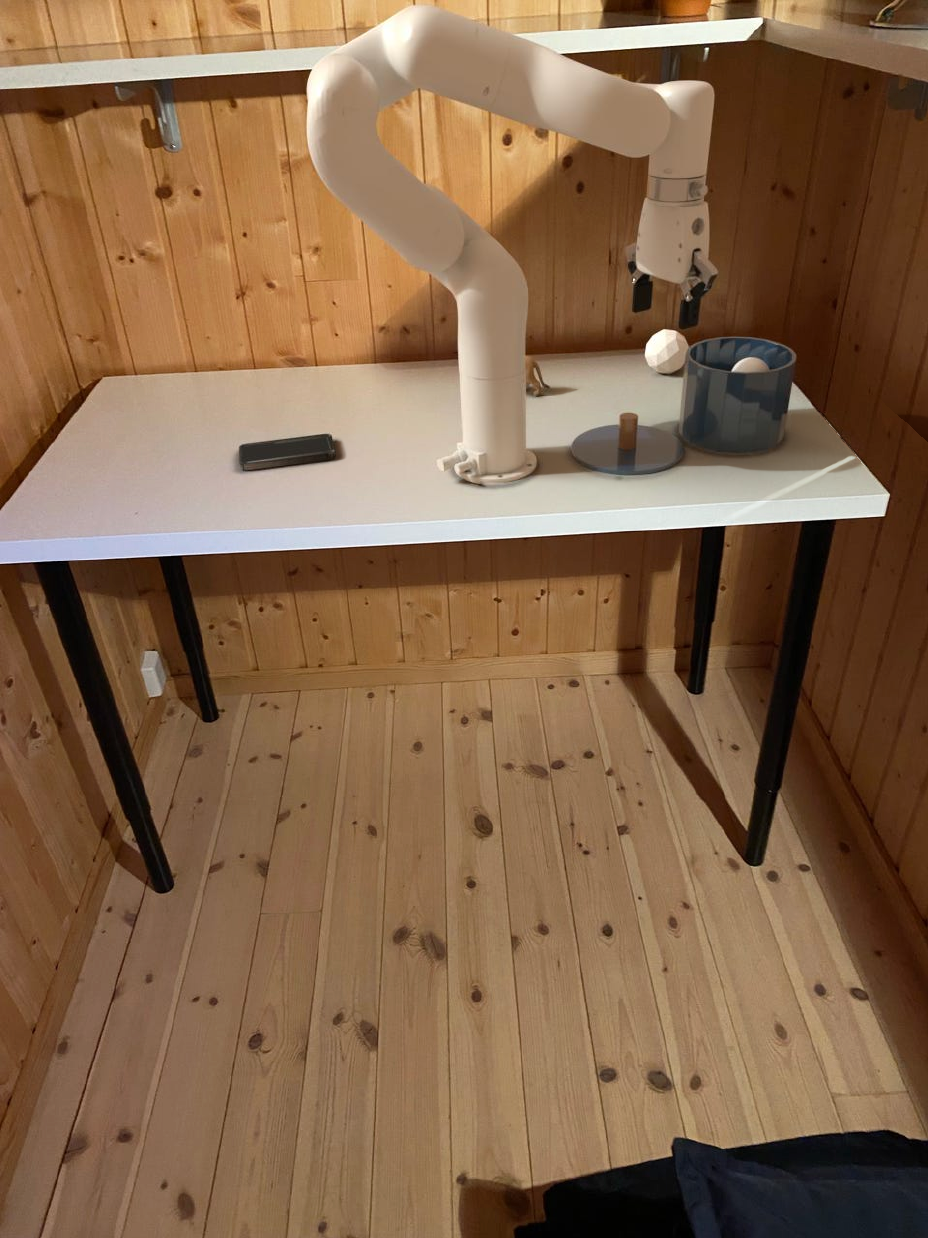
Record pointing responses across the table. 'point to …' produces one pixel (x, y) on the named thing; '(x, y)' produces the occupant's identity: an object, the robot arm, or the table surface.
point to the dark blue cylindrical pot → (735, 395)
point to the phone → (286, 451)
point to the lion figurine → (530, 376)
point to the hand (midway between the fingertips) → (664, 318)
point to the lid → (627, 448)
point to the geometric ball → (666, 351)
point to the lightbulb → (750, 365)
